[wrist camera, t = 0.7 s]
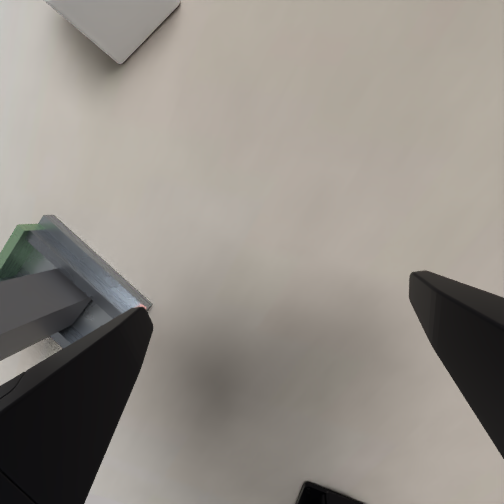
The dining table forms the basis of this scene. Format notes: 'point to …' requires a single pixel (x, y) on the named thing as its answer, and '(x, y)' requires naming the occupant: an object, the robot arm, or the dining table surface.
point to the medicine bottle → (115, 21)
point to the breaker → (37, 309)
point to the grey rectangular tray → (69, 273)
